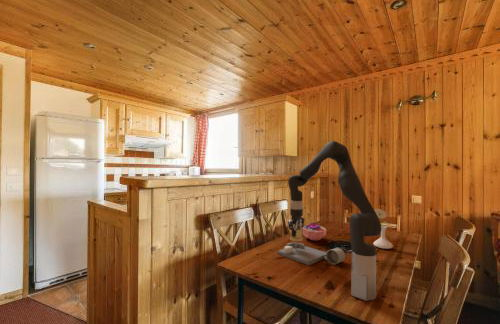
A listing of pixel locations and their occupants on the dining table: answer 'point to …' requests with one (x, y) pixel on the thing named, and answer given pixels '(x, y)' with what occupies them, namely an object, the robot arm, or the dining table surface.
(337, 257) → the ceramic mug
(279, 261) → the dining table surface
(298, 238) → the gold hollow block
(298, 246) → the carrier
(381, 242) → the flower in vase
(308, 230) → the cell model
